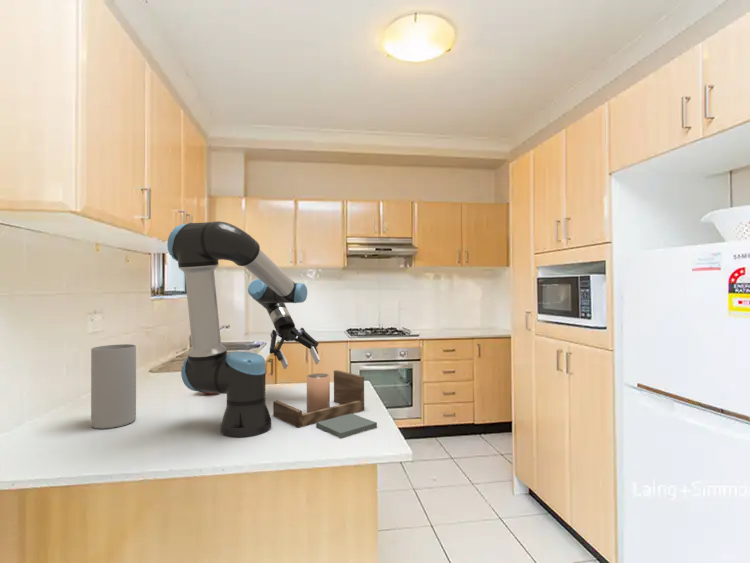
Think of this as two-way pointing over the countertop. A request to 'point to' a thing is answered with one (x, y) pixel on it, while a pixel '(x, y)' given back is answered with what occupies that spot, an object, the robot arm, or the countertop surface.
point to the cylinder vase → (113, 385)
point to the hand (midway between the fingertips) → (302, 364)
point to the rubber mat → (346, 425)
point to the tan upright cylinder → (318, 391)
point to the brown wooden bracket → (345, 393)
